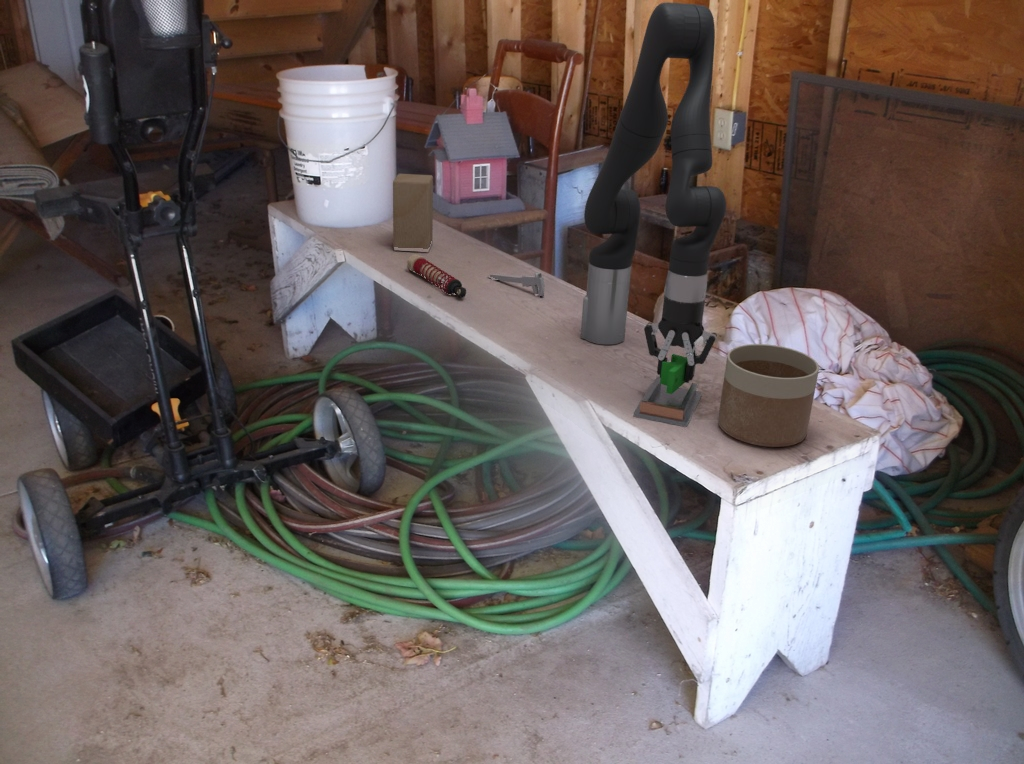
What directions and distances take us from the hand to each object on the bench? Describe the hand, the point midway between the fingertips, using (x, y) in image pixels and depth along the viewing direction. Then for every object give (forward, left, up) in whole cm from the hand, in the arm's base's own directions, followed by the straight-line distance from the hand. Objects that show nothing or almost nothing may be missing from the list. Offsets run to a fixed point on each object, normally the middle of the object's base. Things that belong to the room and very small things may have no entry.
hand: (674, 378), depth 182 cm
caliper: (-52, +50, -5) cm, 72 cm away
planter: (+18, -6, -5) cm, 19 cm away
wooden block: (-90, +70, -4) cm, 114 cm away
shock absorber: (-71, +43, -5) cm, 83 cm away
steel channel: (0, -3, -4) cm, 6 cm away
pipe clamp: (0, 0, -1) cm, 1 cm away
